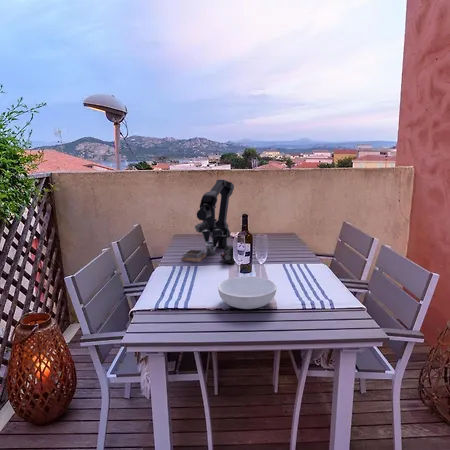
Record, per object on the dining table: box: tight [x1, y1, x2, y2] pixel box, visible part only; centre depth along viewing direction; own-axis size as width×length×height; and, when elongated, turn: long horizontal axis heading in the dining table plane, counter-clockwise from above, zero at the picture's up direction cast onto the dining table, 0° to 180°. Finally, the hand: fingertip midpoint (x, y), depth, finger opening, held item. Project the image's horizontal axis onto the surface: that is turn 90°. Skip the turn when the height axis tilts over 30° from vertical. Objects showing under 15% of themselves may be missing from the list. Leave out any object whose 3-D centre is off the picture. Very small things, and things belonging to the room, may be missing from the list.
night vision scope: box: [220, 245, 236, 265], centre depth 175 cm, size 8×18×10 cm
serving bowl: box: [217, 275, 278, 310], centre depth 123 cm, size 21×21×7 cm
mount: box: [181, 249, 207, 263], centre depth 181 cm, size 10×10×4 cm
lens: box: [205, 240, 216, 256], centre depth 188 cm, size 5×5×7 cm
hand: (210, 245), depth 188 cm, fingers open, 9 cm apart
